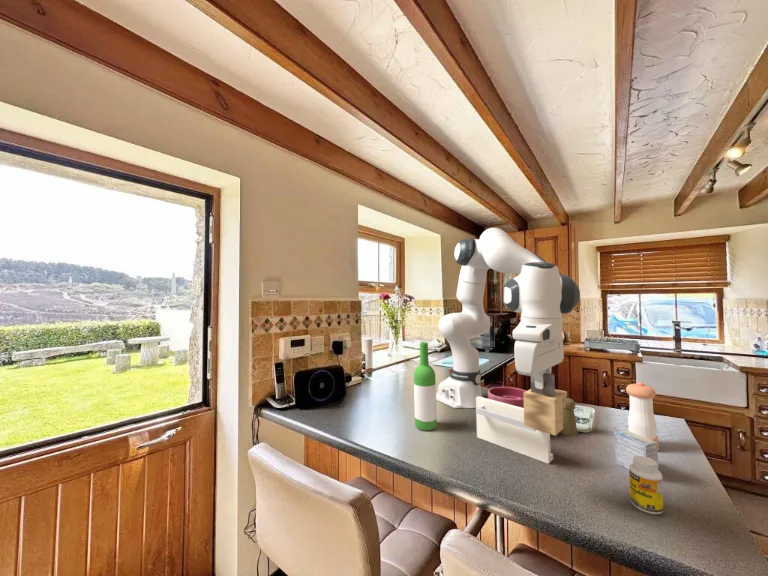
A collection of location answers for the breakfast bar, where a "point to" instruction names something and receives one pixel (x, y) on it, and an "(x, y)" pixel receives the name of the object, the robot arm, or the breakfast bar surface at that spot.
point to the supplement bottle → (646, 485)
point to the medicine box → (633, 448)
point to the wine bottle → (425, 392)
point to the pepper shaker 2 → (642, 411)
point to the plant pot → (507, 395)
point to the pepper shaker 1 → (569, 418)
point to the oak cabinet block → (544, 406)
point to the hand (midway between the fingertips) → (542, 386)
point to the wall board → (510, 429)
